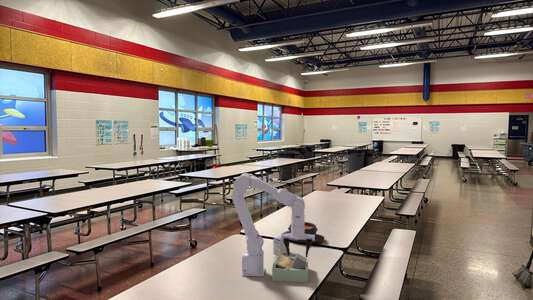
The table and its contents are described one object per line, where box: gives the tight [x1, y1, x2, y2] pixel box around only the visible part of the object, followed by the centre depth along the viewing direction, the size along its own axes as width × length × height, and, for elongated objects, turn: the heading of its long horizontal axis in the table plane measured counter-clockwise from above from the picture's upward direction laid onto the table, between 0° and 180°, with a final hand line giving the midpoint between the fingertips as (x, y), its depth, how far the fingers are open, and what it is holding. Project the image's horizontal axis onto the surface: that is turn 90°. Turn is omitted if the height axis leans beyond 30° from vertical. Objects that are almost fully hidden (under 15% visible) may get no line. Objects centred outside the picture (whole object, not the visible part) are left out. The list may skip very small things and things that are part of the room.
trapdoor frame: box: [271, 255, 309, 284], centre depth 142 cm, size 15×14×6 cm
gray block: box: [292, 253, 307, 269], centre depth 141 cm, size 4×4×5 cm
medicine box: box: [272, 234, 288, 256], centre depth 166 cm, size 8×4×9 cm, turn 141°
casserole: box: [282, 221, 325, 244], centre depth 187 cm, size 25×19×8 cm
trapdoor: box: [277, 253, 294, 269], centre depth 142 cm, size 12×11×3 cm
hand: (297, 255), depth 141 cm, fingers open, 7 cm apart
